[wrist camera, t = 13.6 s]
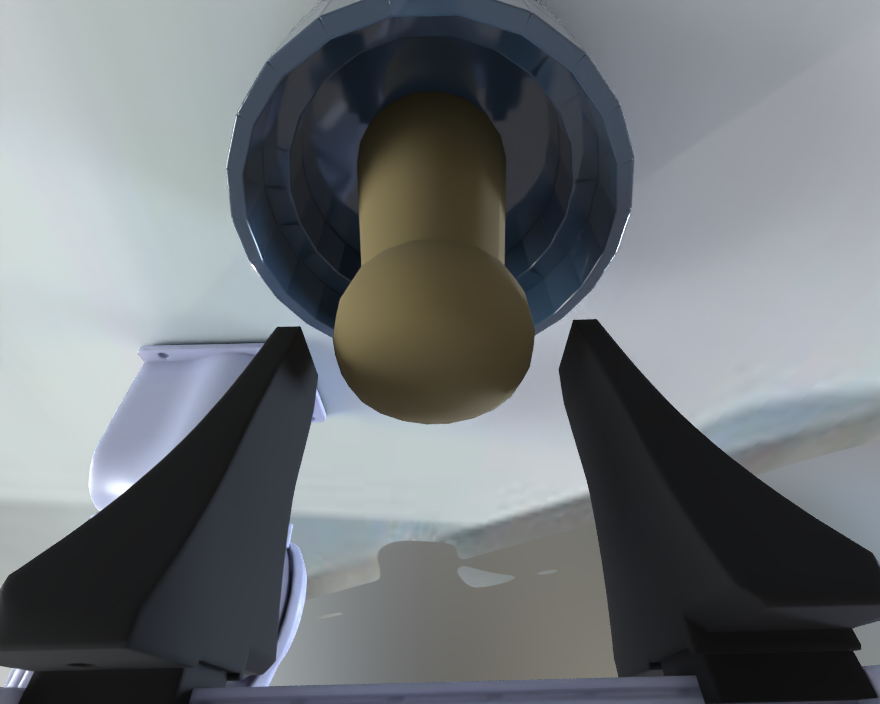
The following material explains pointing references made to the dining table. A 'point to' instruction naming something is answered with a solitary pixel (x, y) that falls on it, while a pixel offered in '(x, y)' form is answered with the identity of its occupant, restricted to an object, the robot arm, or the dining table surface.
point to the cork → (432, 268)
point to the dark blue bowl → (426, 70)
